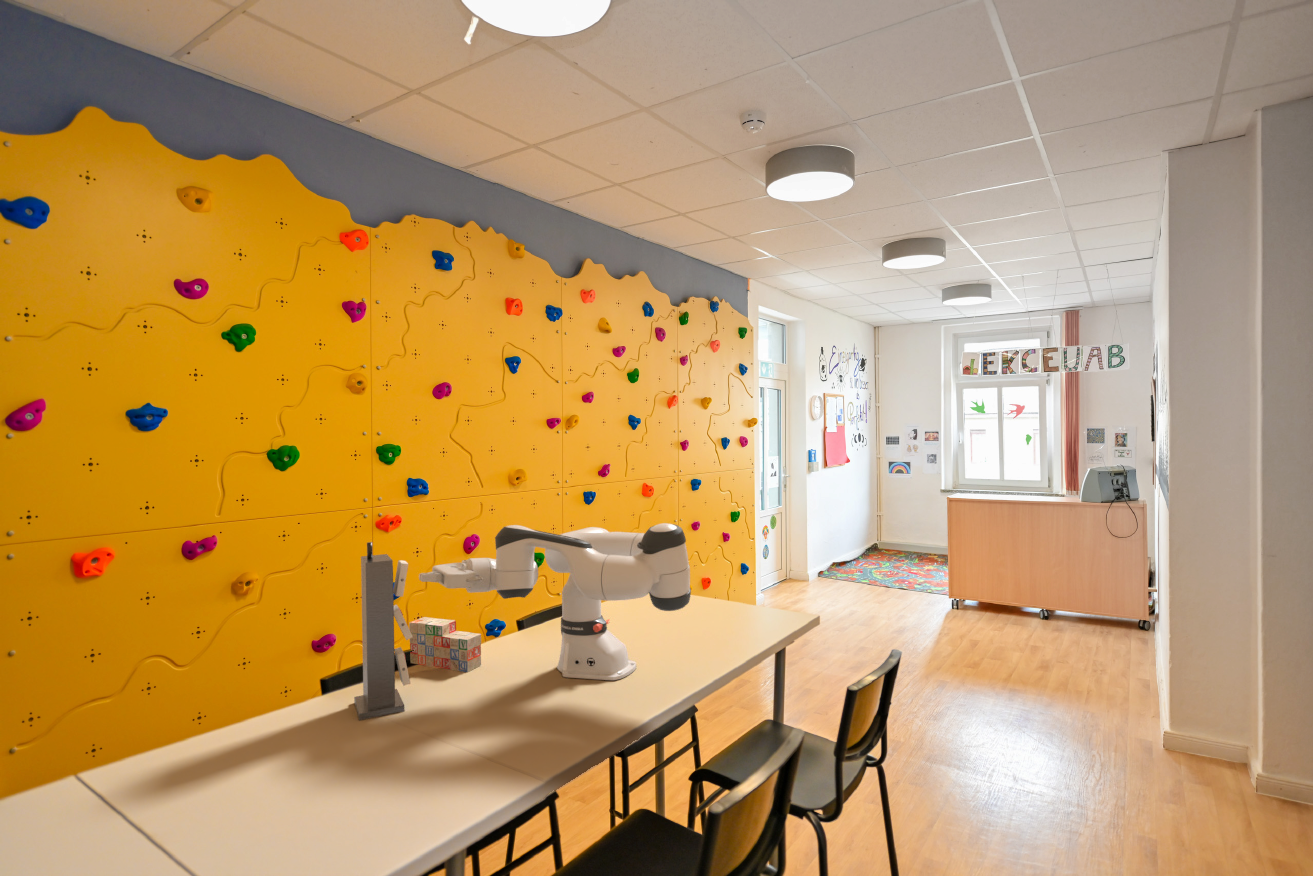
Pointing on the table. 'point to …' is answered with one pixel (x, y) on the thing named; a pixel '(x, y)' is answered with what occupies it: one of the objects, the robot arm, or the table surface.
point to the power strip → (377, 639)
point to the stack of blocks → (444, 645)
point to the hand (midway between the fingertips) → (420, 577)
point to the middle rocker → (402, 622)
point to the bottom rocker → (402, 666)
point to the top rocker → (400, 578)
